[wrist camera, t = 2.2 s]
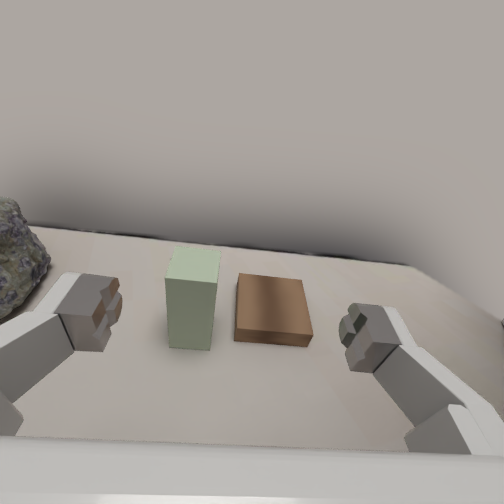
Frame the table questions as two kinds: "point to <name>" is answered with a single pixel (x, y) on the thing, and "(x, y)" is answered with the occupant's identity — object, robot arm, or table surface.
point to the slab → (271, 311)
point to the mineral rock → (18, 257)
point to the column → (191, 297)
